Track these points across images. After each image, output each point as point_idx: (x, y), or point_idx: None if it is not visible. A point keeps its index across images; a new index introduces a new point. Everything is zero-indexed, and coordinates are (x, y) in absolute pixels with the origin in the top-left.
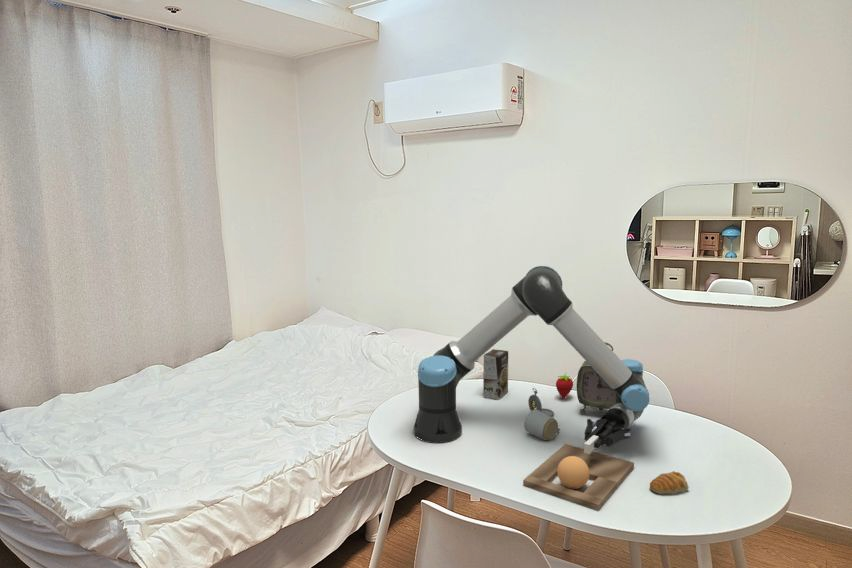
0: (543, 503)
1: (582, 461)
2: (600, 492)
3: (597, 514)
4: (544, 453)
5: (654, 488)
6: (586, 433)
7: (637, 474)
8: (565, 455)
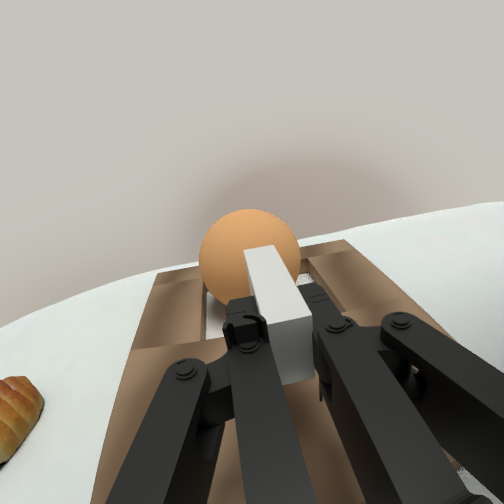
0: None
1: (215, 226)
2: (165, 296)
3: None
4: (491, 346)
5: (27, 378)
6: (389, 321)
7: (80, 482)
8: None
